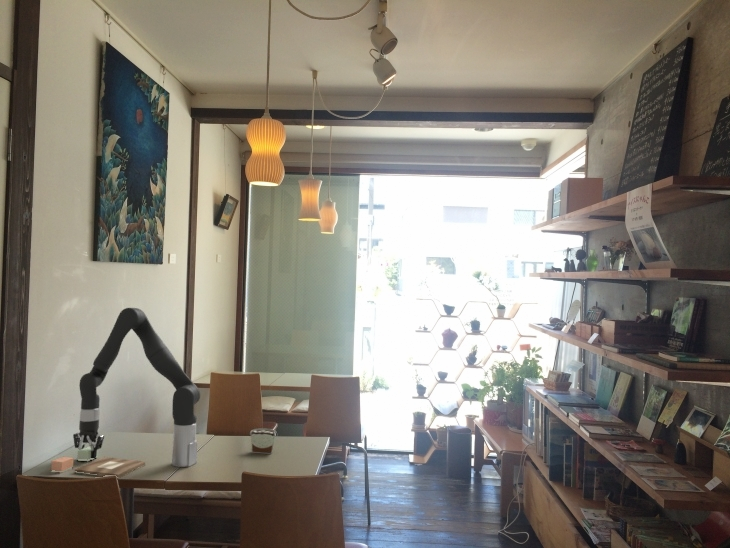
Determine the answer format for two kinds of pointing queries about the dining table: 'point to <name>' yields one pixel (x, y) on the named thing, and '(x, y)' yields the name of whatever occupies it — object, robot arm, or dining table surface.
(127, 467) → the base board
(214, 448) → the dining table surface
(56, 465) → the terracotta brick
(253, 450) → the food container
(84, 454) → the sage green brick
